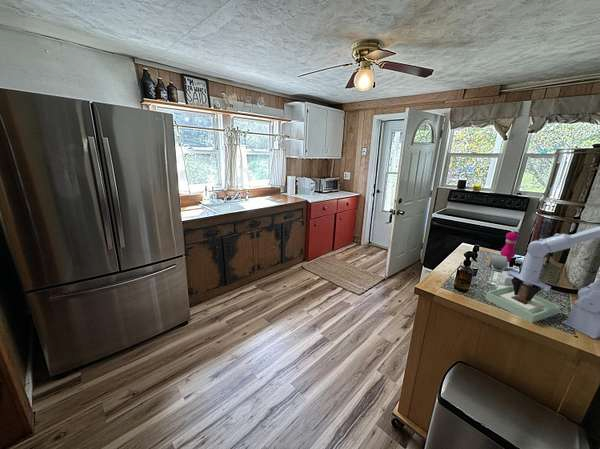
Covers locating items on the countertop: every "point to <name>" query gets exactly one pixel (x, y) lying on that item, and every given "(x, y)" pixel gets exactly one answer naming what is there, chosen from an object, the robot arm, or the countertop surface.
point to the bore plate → (531, 307)
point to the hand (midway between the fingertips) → (522, 297)
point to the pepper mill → (509, 245)
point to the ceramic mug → (497, 262)
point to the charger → (508, 279)
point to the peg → (523, 293)
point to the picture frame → (548, 309)
